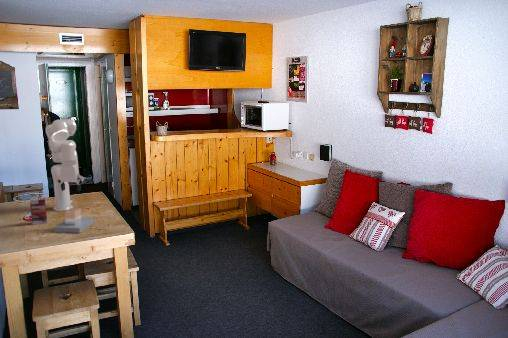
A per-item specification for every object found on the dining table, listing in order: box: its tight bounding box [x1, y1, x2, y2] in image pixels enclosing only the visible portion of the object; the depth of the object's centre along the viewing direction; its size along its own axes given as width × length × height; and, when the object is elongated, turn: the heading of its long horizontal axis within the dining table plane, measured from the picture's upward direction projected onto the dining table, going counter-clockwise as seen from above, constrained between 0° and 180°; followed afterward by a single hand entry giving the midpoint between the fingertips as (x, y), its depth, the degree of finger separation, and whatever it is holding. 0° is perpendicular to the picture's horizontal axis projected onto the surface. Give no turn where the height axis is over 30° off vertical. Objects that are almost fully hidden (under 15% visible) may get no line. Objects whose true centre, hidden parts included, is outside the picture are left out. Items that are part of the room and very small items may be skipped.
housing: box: [64, 207, 82, 225], centre depth 268 cm, size 6×8×8 cm
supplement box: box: [29, 197, 48, 226], centre depth 275 cm, size 9×5×16 cm, turn 117°
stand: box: [53, 217, 94, 234], centre depth 269 cm, size 18×16×3 cm
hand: (71, 190), depth 264 cm, fingers open, 9 cm apart
